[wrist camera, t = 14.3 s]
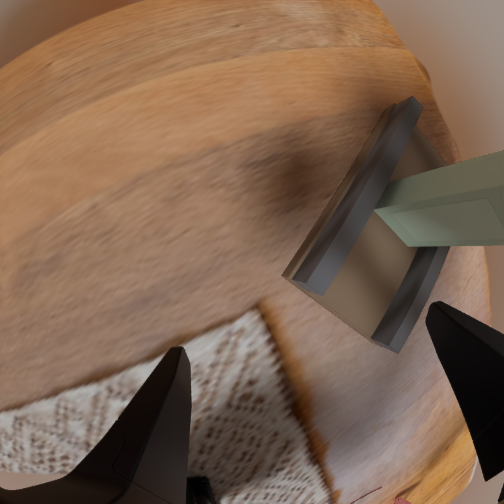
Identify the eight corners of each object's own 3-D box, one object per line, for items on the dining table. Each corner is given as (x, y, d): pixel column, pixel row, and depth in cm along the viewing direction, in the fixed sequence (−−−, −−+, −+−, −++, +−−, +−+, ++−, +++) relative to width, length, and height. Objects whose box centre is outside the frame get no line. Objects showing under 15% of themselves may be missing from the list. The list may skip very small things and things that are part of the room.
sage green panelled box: (407, 247, 23) (532, 245, 11) (372, 210, 22) (506, 185, 10) (420, 220, 23) (537, 207, 11) (387, 182, 22) (511, 147, 10)
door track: (371, 342, 24) (400, 354, 20) (281, 275, 22) (303, 280, 18) (447, 180, 26) (473, 175, 23) (386, 108, 24) (410, 93, 20)
